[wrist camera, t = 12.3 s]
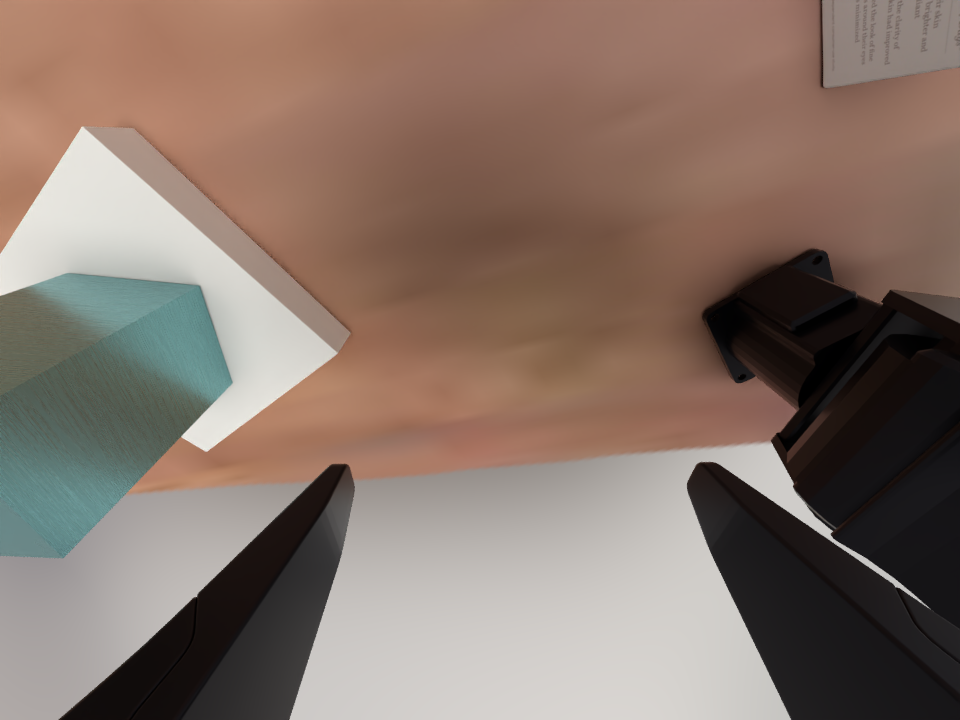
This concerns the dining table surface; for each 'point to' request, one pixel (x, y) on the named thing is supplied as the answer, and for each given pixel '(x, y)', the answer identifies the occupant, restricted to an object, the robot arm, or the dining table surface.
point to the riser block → (174, 265)
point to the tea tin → (94, 398)
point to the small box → (888, 39)
